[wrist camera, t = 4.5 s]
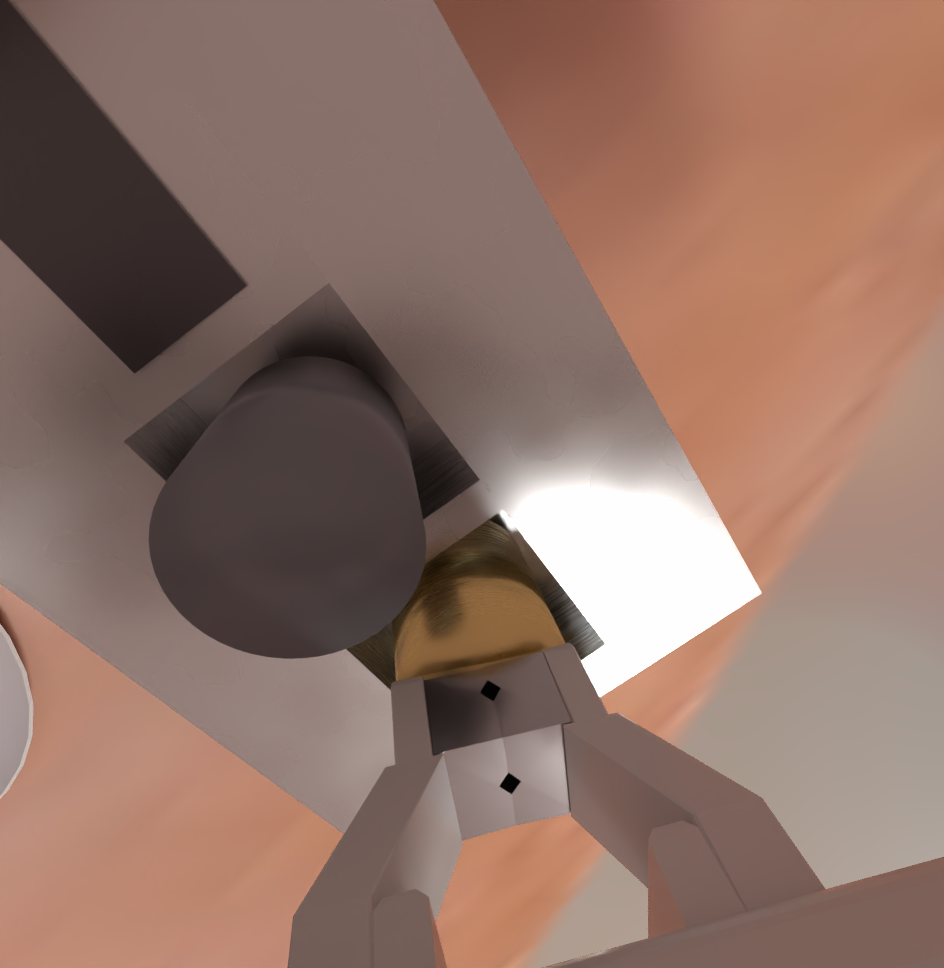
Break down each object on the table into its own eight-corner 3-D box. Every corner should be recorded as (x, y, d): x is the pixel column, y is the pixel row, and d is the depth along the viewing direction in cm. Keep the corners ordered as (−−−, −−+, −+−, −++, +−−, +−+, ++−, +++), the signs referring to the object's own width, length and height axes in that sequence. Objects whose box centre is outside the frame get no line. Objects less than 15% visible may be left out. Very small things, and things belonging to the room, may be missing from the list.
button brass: (442, 654, 14) (465, 781, 11) (360, 569, 13) (359, 685, 9) (548, 582, 13) (604, 691, 10) (475, 488, 12) (513, 580, 9)
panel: (363, 698, 17) (363, 852, 13) (-353, 57, 9) (-921, -75, 5) (659, 498, 16) (764, 596, 12) (119, -399, 8) (-121, -1009, 4)
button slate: (306, 557, 11) (282, 698, 7) (178, 430, 9) (84, 536, 6) (441, 461, 10) (476, 565, 7) (327, 316, 9) (308, 366, 6)
